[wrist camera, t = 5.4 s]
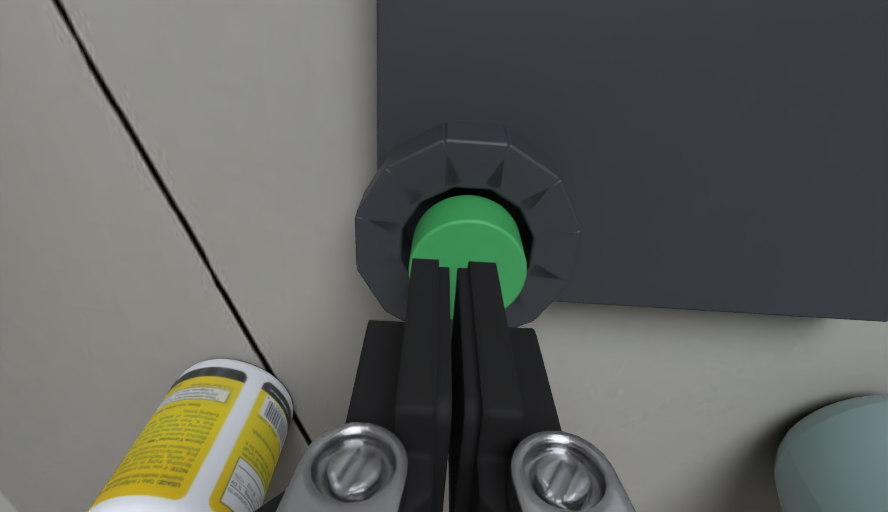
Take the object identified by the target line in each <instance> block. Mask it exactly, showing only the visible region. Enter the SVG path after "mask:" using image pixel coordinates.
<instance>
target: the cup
mask: <svg viewBox="0 0 888 512" xmlns="http://www.w3.org/2000/svg"><path fill="white" fill-rule="evenodd" d="M774 479H775V484H776V489H777V493H778V498H779V502H780V505H781V508H782V511H783V512H888V395H868V396H862V397H855V398H849V399H846V400H842V401H838V402H835V403H832V404H830V405H827V406H824V407H822V408H820V409H818V410H816V411H814V412H812V413H810V414H808V415H807V416H805V417H804V418H802V419H801V420H799V421H798V422H797V423H796V424H795V425H794V426H793V427H792V428H791V429H790V430H789V431H788V432H787V433H786V435H785V436H784V437H783V439H782V440H781V442H780V445H779V448H778V450H777V453H776V457H775V465H774Z"/></svg>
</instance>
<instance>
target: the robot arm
mask: <svg viewBox="0 0 888 512" xmlns="http://www.w3.org/2000/svg"><path fill="white" fill-rule="evenodd" d="M448 457H449V512H636V511H635V509H634V507H633V505H632V503H631V501H630V499H629V497H628V495H627V493H626V491H625V489H624V487H623V485H622V484H621V482H620V480H619V478H618V476H617V474H616V472H615V470H614V468H613V467H612V465H611V464H610V462H609V461H608V459H607V458H606V457H605V455H604V454H603V453H602V452H600V451H599V450H598V449H597V448H596V447H595V446H594V445H592V444H591V443H589V442H587V441H586V440H584V439H582V438H580V437H578V436H576V435H573V434H569V433H566V432H562V431H561V427H560V423H559V419H558V416H557V412H556V408H555V404H554V400H553V397H552V393H551V389H550V385H549V381H548V377H547V374H546V370H545V366H544V362H543V358H542V355H541V351H540V347H539V343H538V339H537V335H536V333H535V330H534V329H532V328H514V327H508V324H507V318H506V313H505V307H504V302H503V297H502V291H501V286H500V281H499V275H498V270H497V265H496V263H494V262H476V261H469V262H468V267H467V268H458V269H457V278H456V290H455V301H454V312H453V324H452V335H451V318H450V269H449V267H439V259H420V258H412V265H411V273H410V282H409V291H408V300H407V309H406V318H405V322H395V321H375V320H369V322H368V325H367V329H366V333H365V338H364V342H363V347H362V351H361V356H360V360H359V365H358V369H357V374H356V378H355V383H354V388H353V392H352V397H351V401H350V406H349V410H348V415H347V419H346V424H343V425H338V426H336V427H334V428H332V429H330V430H328V431H325V432H324V433H322V434H321V435H320V436H319V437H317V438H316V439H315V440H314V441H313V442H311V444H310V445H309V447H308V448H307V450H306V451H305V453H304V454H303V456H302V458H301V460H300V462H299V464H298V466H297V468H296V470H295V472H294V474H293V477H292V479H291V481H290V483H289V485H288V487H287V489H286V490H285V491H284V492H282V493H281V494H279V495H278V496H276V497H275V498H273V499H272V500H270V501H269V502H267V503H266V504H264V505H263V506H261V507H260V508H258V509H257V510H255V511H254V512H443V502H444V491H445V481H446V471H447V461H448Z"/></svg>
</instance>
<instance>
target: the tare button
mask: <svg viewBox="0 0 888 512" xmlns="http://www.w3.org/2000/svg"><path fill="white" fill-rule="evenodd" d="M412 258H420V259H439V267H449V269H450V318H451V319H453V312H454V301H455V290H456V278H457V269H458V268H467V267H468V262H469V261H476V262H494V263H496V265H497V270H498V275H499V281H500V286H501V291H502V297H503V302H504V307H505V308H507V307H508V306H509V305H510V304H511V303H512V302H513V301H514V300H515V299H516V298H517V296H518V295H519V293H520V292H521V290H522V288H523V286H524V283H525V279H526V275H527V262H526V258H525V254H524V250H523V246H522V242H521V238H520V234H519V230H518V227H517V225H516V223H515V221H514V219H513V218H512V216H511V215H510V214H509V213H508V212H507V211H506V210H505V209H504V208H503V207H502V206H500V205H499V204H498V203H496V202H494V201H492V200H490V199H487V198H484V197H480V196H474V195H460V196H454V197H450V198H447V199H444V200H442V201H440V202H438V203H436V204H435V205H433V206H432V207H431V208H429V209H428V210H427V211H426V212H425V213H424V215H423V216H422V217H421V218H420V220H419V222H418V223H417V226H416V228H415V231H414V235H413V241H412V247H411V254H410V260H409V268H408V269H409V279H410V273H411V265H412Z"/></svg>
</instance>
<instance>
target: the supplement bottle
mask: <svg viewBox="0 0 888 512" xmlns="http://www.w3.org/2000/svg"><path fill="white" fill-rule="evenodd" d="M292 416H293V406H292V401H291V398H290V396H289V394H288V392H287V390H286V389H285V387H284V386H283V385H282V384H281V382H279V381H278V380H277V379H276V378H275V377H274V376H272V375H271V374H270V373H268V372H266V371H265V370H263V369H261V368H259V367H256V366H254V365H251V364H248V363H245V362H242V361H238V360H232V359H212V360H207V361H203V362H200V363H197V364H195V365H193V366H192V367H190V368H189V369H187V370H186V371H185V372H184V373H182V375H181V376H180V377H179V378H178V379H177V381H176V382H175V383H174V385H173V386H172V387H171V389H170V390H169V392H168V394H167V395H166V397H165V398H164V399H163V401H162V402H161V404H160V405H159V407H158V408H157V410H156V411H155V413H154V414H153V416H152V417H151V419H150V420H149V422H148V423H147V425H146V426H145V428H144V429H143V431H142V432H141V434H140V435H139V436H138V438H137V439H136V441H135V442H134V444H133V445H132V447H131V448H130V450H129V451H128V453H127V454H126V456H125V457H124V459H123V460H122V462H121V463H120V465H119V466H118V468H117V469H116V471H115V472H114V474H113V475H112V476H111V478H110V479H109V481H108V482H107V484H106V485H105V487H104V488H103V490H102V491H101V493H100V494H99V496H98V497H97V499H96V500H95V502H94V503H93V505H92V506H91V508H90V509H89V511H88V512H254V511H255V510H257V509H258V508H260V507H261V506H262V504H263V501H264V498H265V495H266V493H267V490H268V487H269V484H270V481H271V478H272V475H273V473H274V470H275V467H276V464H277V461H278V458H279V456H280V453H281V450H282V447H283V444H284V442H285V438H286V435H287V432H288V430H289V427H290V424H291V421H292Z"/></svg>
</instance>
